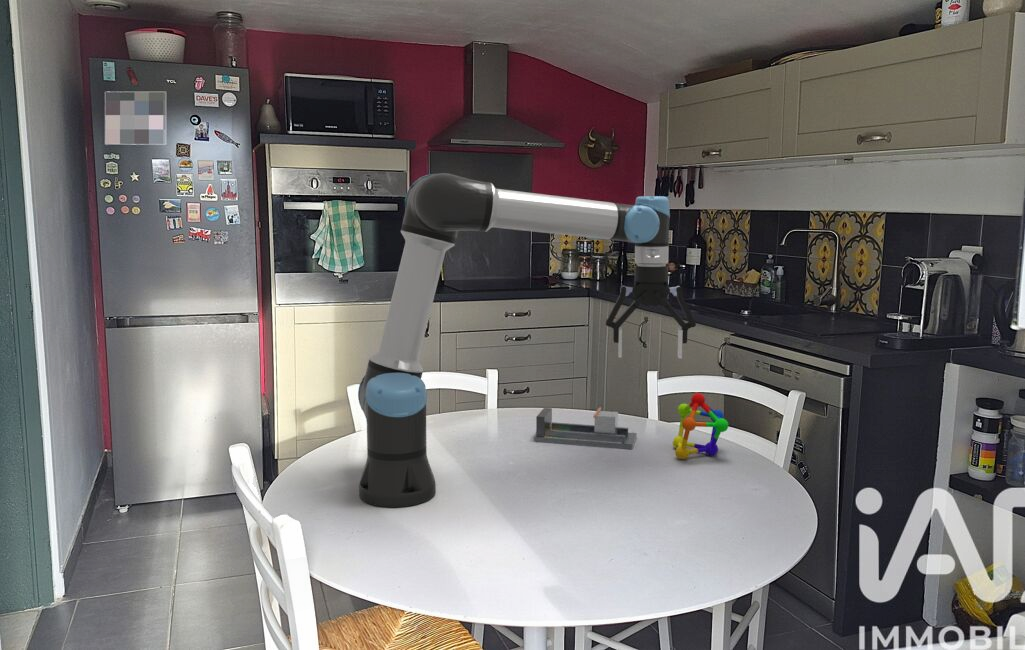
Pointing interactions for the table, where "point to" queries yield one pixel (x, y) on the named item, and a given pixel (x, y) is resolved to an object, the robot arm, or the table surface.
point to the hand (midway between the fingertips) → (649, 357)
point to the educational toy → (690, 425)
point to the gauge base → (579, 433)
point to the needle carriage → (606, 422)
